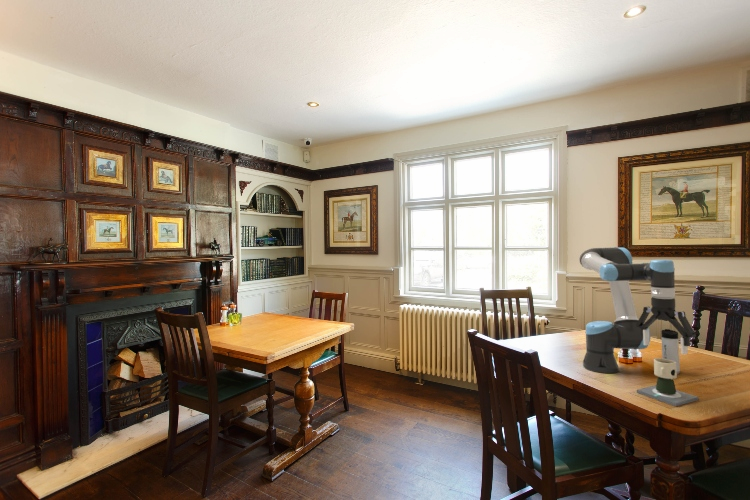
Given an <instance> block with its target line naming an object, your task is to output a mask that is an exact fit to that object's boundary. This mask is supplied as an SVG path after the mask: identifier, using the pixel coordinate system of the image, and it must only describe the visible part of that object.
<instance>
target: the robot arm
mask: <svg viewBox="0 0 750 500" xmlns="http://www.w3.org/2000/svg"><path fill="white" fill-rule="evenodd" d="M632 256H633V255H632V254H631V252H630V250H628V249H627V248H625V247H618V246H617V247H616V246H615V247H592V248H588V249H587V250H584V252H582V253H581V255H580V256H579V263H580V265H581V266H582V267H583V268H584V269H586V270H588V271H589V270H590V271H594V272H596V273H598V274H599V277H600V279H601V280H602V281H606V282H608V284H609V289H610V293H611V299H612V302H613V310H614V313H615V317H616V318H615V319H614V321H613V322H611V321H608V320H595V321H590V322H588V323H586V325H585V343H586V344H585V345H586V350H585V351H586V352H585V355H584V357H583V361H582V367H583V366H584V367H585V368H584V367H583V368H584V369H586V368H587V369H586V370H588V369H589V371H591V370H592V372H595V371H596V372H595V373H602V374H615V373H618V372H619V371H620V370H619V369H620V368H619V364H618V362H617V359H616V356H615V353H614V352H615V350H614V349H618V350H619V349H623V350H625V349H627V350H645V349H647V348H648V347H649V346H650V342H651V336H652V335H651V330H650V328H649V327H650V326H651V325H653V323H654V322H656V321H657V320H659V321H665V322H669V323H670V324H671V325H673V327H674V328H675V330H677V332H678V334H680V335H681V337H680V338H679V339H680V355H687V354H689V353H688V351H689V350H688V348H689V347H690V345H691V338H695V337H697V334H696V332H695V331H694V329H693V327H692V326H691V324H690V322H689V320H688V318H687V317H686V312H685V311H676V299H675V297H676V289H675V282H676V281H675V280H676V279H675V264H674V261H673V260H672V259H651V261H650V262H643V263H633V257H632ZM630 281H631V282H632V281H634V282H638V281H641V282H642V281H643V282H644V281H645V282H646V281H647V282H649V281H650V296H651V298H650V303H651V307H650V306H643V309H642V313H641V314H640V316H639V318H638V315H637V311H636V308H635V307H636V306H635V302H634V298H633V294H632V291H631V287H630ZM651 313H652V315H651V316H650V317H649V315H650V314H651ZM648 317H649V319H648ZM676 317H677V318H678V319H677V318H676Z"/></svg>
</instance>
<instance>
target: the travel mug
mask: <svg viewBox="0 0 750 500" xmlns="http://www.w3.org/2000/svg"><path fill="white" fill-rule="evenodd" d="M660 332H661V356H662V357H661V358H662V359H669V360H672V361H675V362H676V367H677V375H678V374H680V371H681V370H680V369H681V368H680V345H679V343H680V342H679V332H678V331H676V330H672V329H670V328H665V329H662V330H661V331H660Z"/></svg>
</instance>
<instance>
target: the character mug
mask: <svg viewBox="0 0 750 500" xmlns="http://www.w3.org/2000/svg"><path fill="white" fill-rule="evenodd" d="M653 371H654V373H653V374H654V376H656V377H657V378H656V383H655V384H656V390H657V391H660V392H664V393H665V394H666V393H667V394H676V393H675V392H676V390H677V388H676V385H675V381H674V379H677V378H678V374H677V367H676V362H675V361H672V360H669V359H662V357H660V358H659V357H658V358H654V359H653Z"/></svg>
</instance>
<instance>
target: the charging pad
mask: <svg viewBox="0 0 750 500" xmlns="http://www.w3.org/2000/svg"><path fill="white" fill-rule="evenodd" d="M675 393H676V394H667V393H666V394H665V393H664V392H660V391H657V390H656V385H655V384H654V385H651V386H647V387H646V386H645V387H642V388H638V389H636V394H641V395H642V396H645V397H649V398H651V399H654V400H656V401H660V402H661V403H665V404H667V405H670V406H673V407H678V406H682V405H686V404H690V403H692V402H696V401H699V396H696V395H693V394H690V393H687V392H684V391H680V390H677V389H676V392H675Z"/></svg>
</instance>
